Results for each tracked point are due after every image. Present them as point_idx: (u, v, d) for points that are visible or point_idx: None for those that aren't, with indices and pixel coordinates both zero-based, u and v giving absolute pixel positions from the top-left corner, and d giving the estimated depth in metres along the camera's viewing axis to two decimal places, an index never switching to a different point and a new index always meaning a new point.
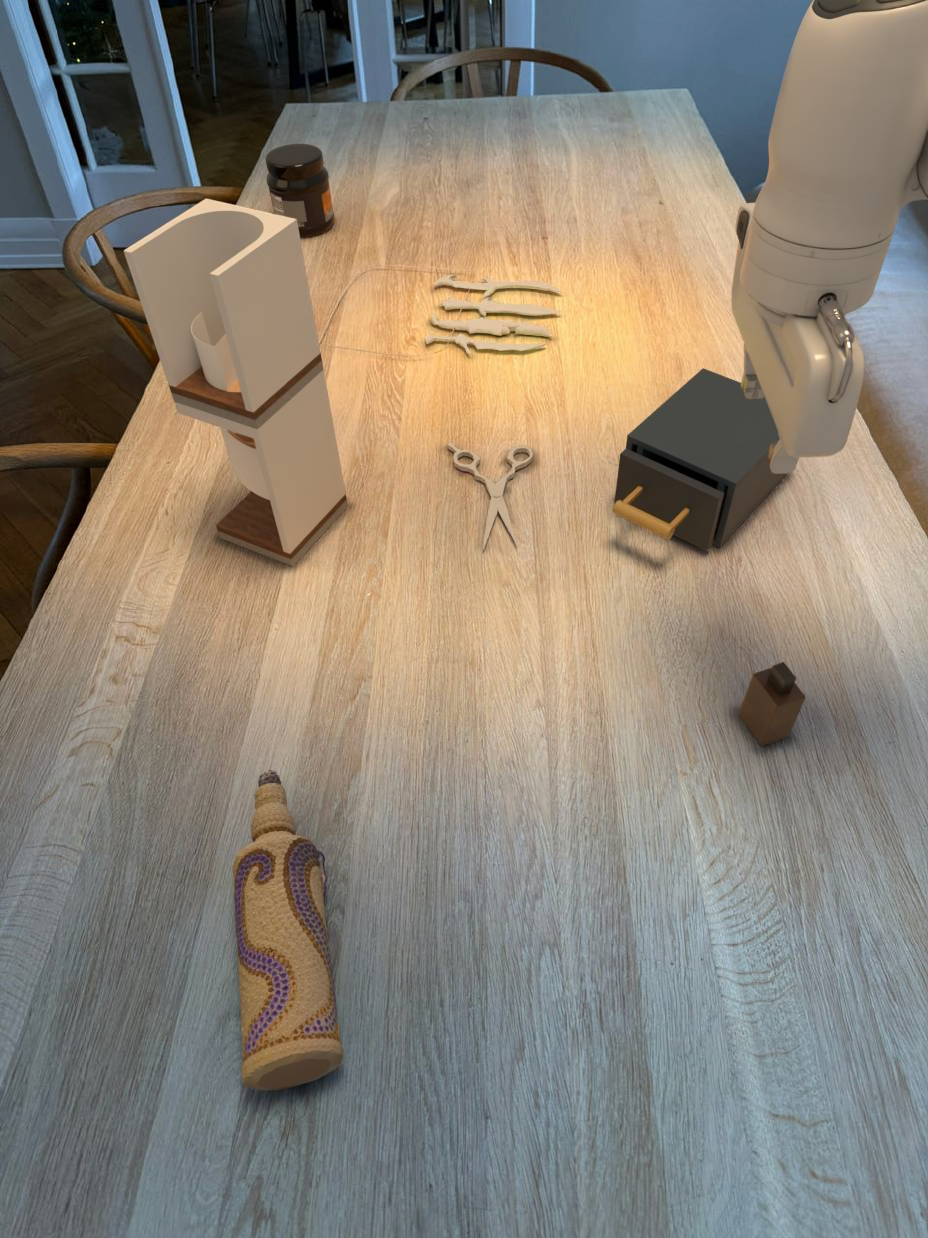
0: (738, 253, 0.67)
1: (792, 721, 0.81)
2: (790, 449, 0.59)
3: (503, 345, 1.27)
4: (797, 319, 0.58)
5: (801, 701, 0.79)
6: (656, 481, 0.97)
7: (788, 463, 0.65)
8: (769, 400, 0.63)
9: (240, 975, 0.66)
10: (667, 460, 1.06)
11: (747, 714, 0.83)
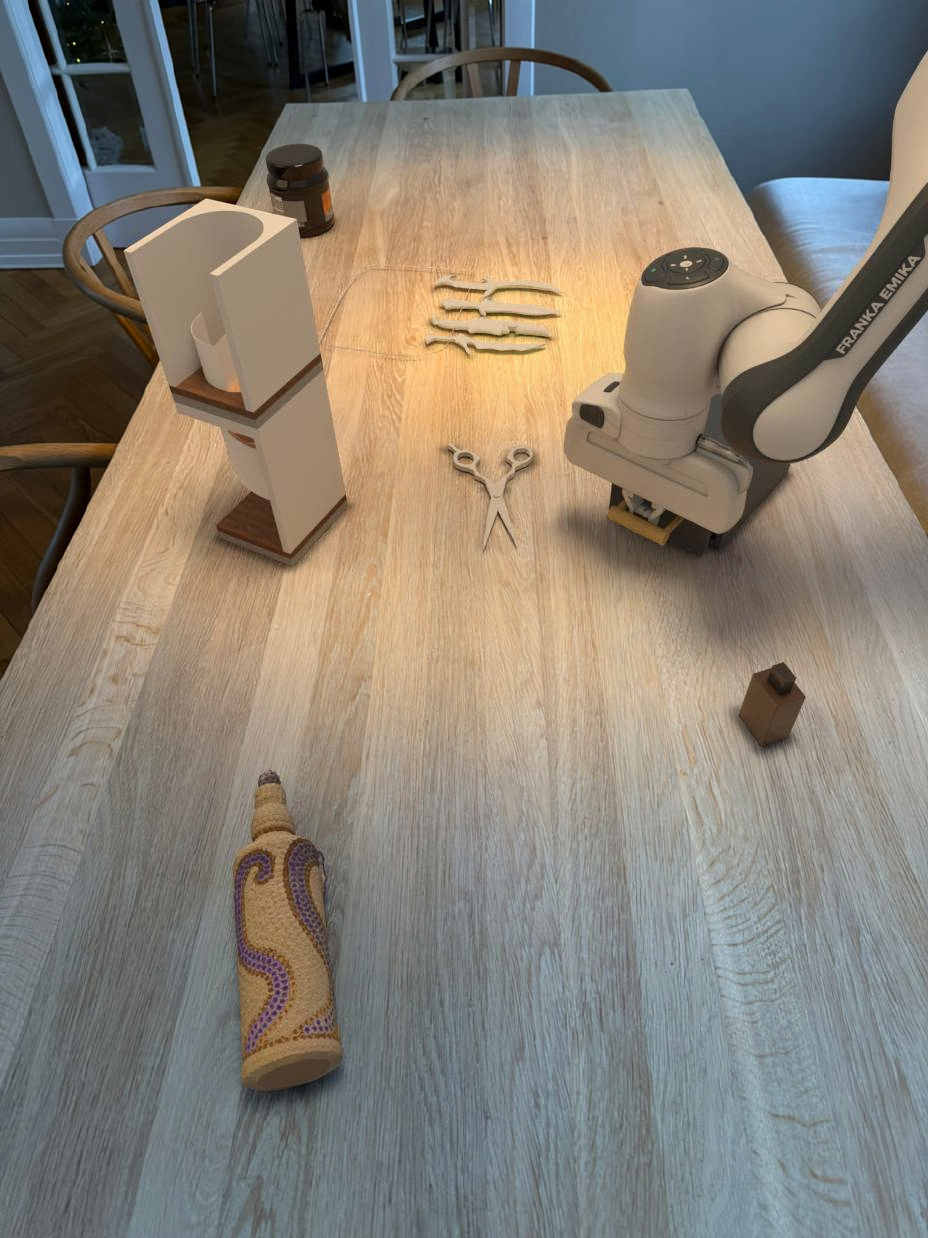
0: (574, 427, 0.92)
1: (792, 721, 0.81)
2: (722, 530, 0.88)
3: (503, 345, 1.27)
4: (687, 457, 0.85)
5: (801, 701, 0.79)
6: None
7: (657, 519, 0.96)
8: (672, 507, 0.90)
9: (240, 975, 0.66)
10: None
11: (747, 714, 0.83)
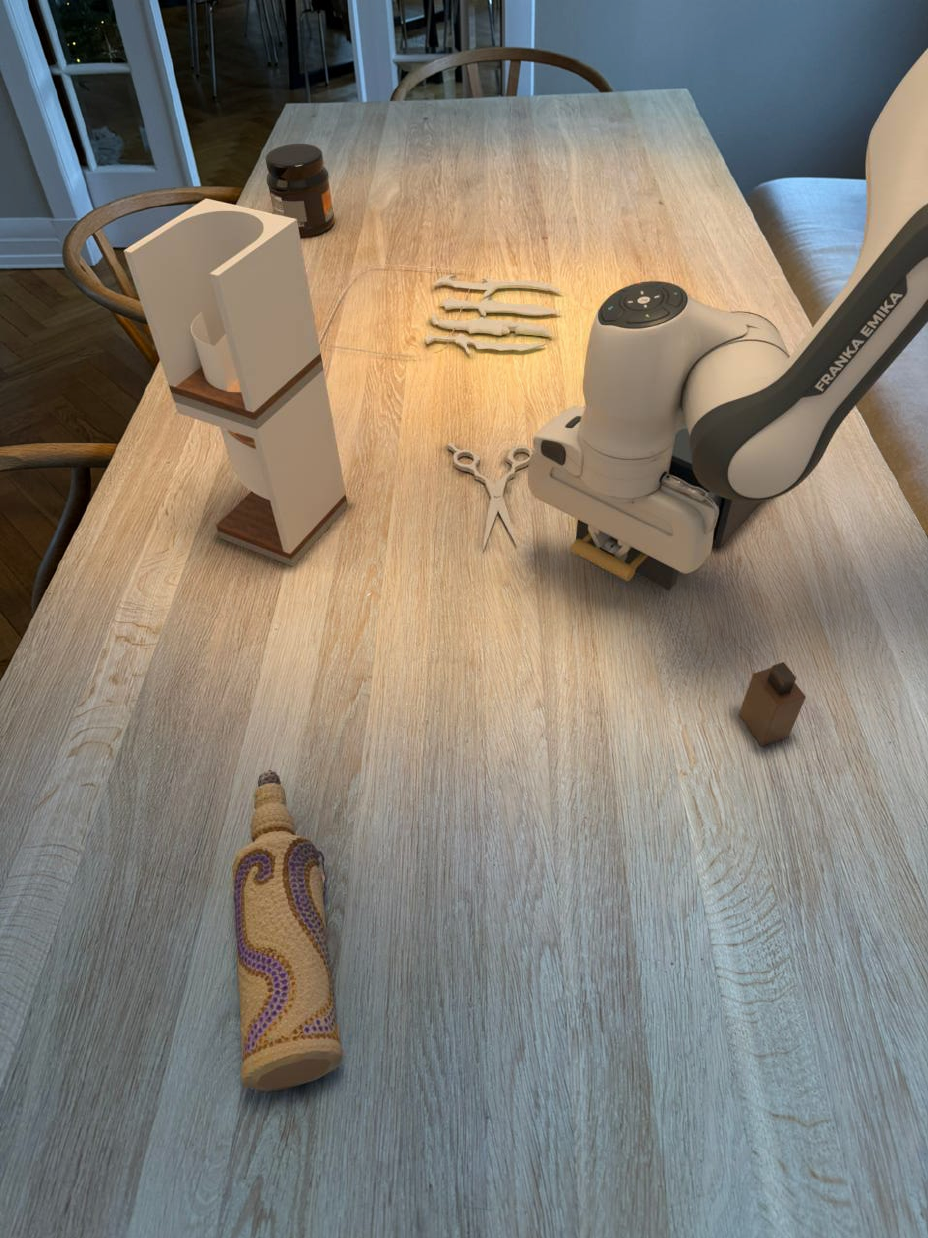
0: (536, 463, 0.89)
1: (792, 721, 0.81)
2: (689, 570, 0.85)
3: (503, 345, 1.27)
4: (651, 496, 0.82)
5: (801, 701, 0.79)
6: None
7: (624, 556, 0.93)
8: (638, 546, 0.87)
9: (240, 975, 0.66)
10: None
11: (747, 714, 0.83)
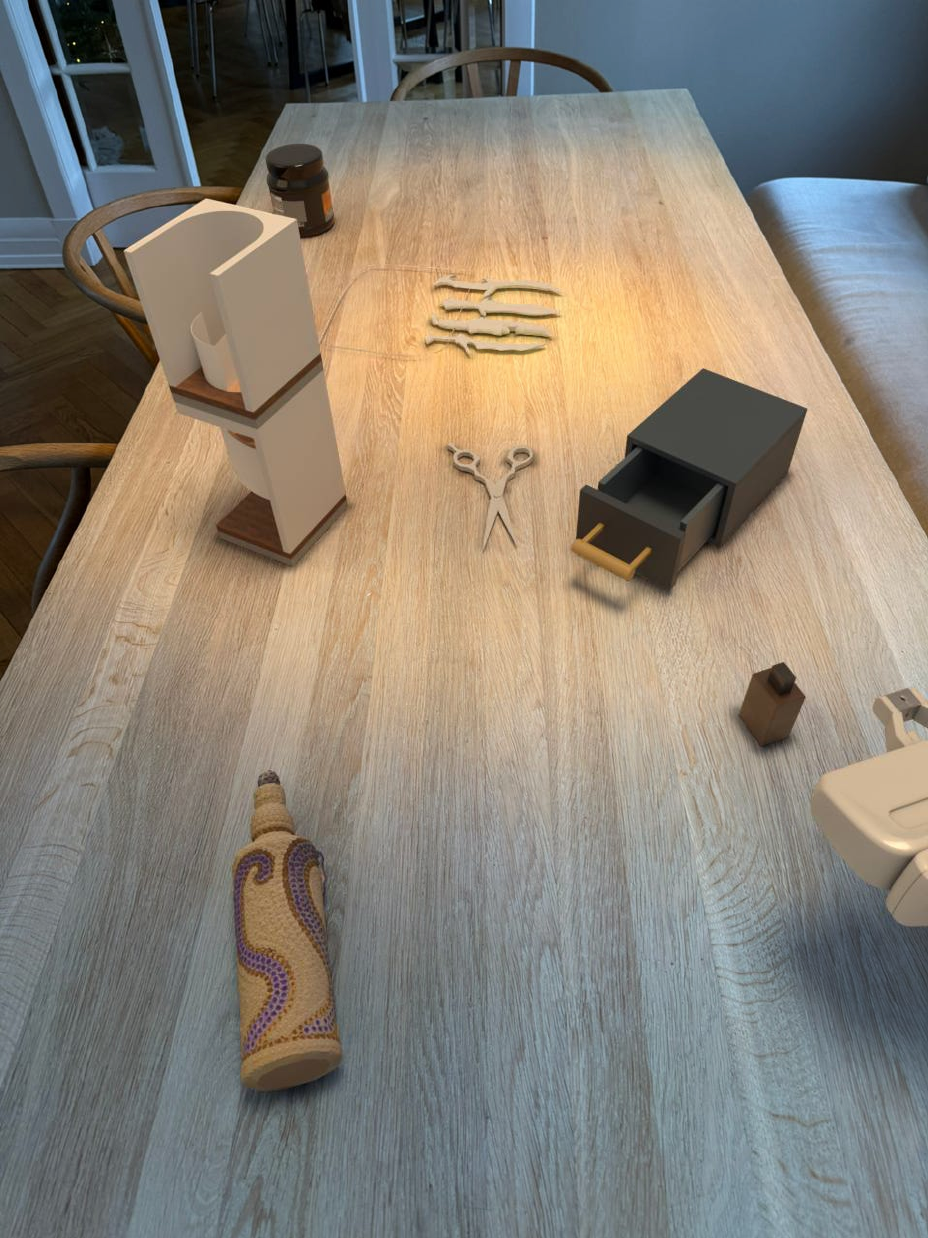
0: None
1: (792, 721, 0.81)
2: None
3: (503, 345, 1.27)
4: None
5: (801, 701, 0.79)
6: (617, 519, 0.93)
7: None
8: None
9: (239, 975, 0.66)
10: (632, 494, 1.03)
11: (747, 714, 0.83)
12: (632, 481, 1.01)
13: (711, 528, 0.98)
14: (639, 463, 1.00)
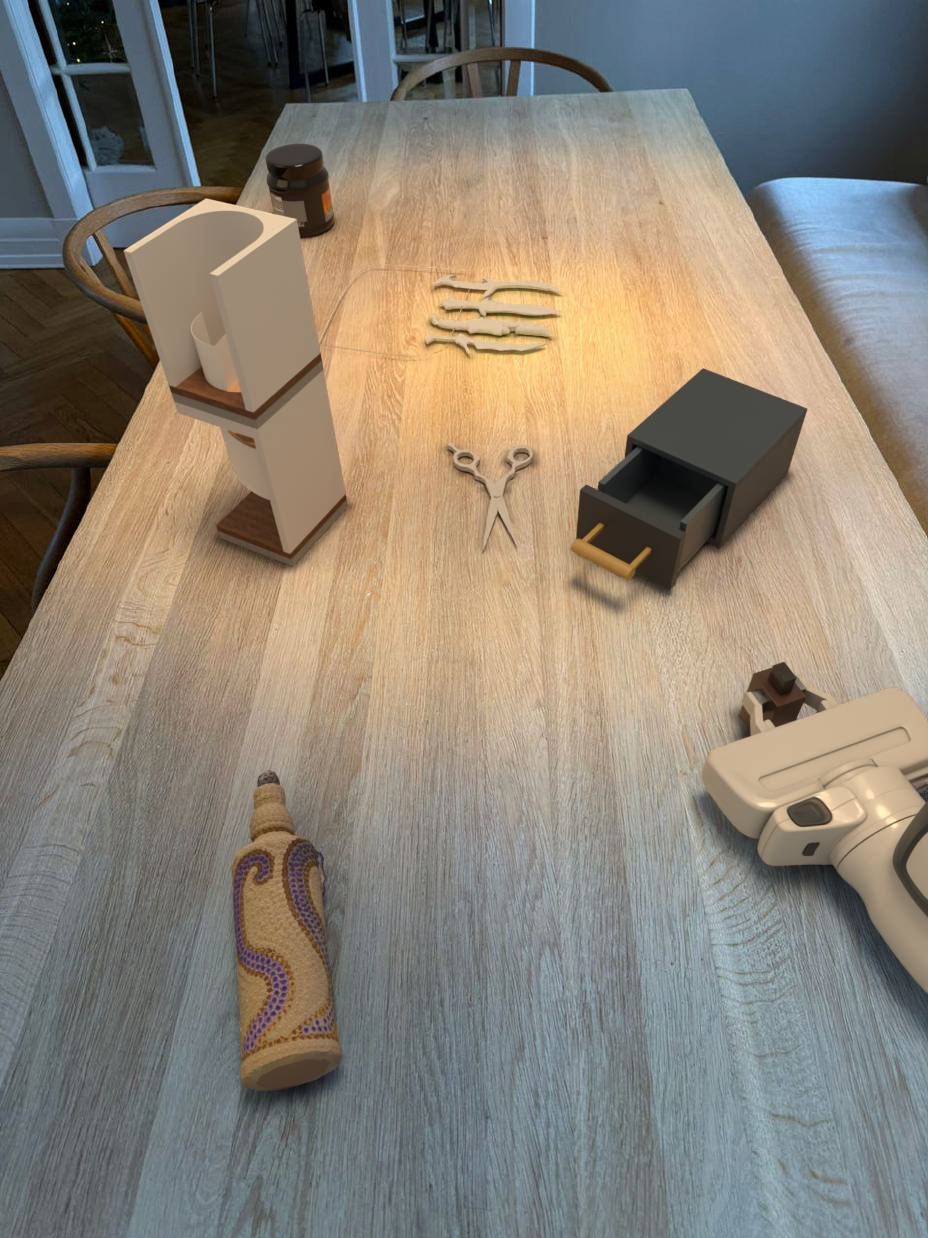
0: None
1: None
2: None
3: (503, 345, 1.27)
4: None
5: (802, 701, 0.79)
6: (617, 519, 0.93)
7: None
8: None
9: (239, 975, 0.66)
10: (632, 494, 1.03)
11: (747, 714, 0.83)
12: (632, 481, 1.01)
13: (711, 528, 0.98)
14: (639, 463, 1.00)
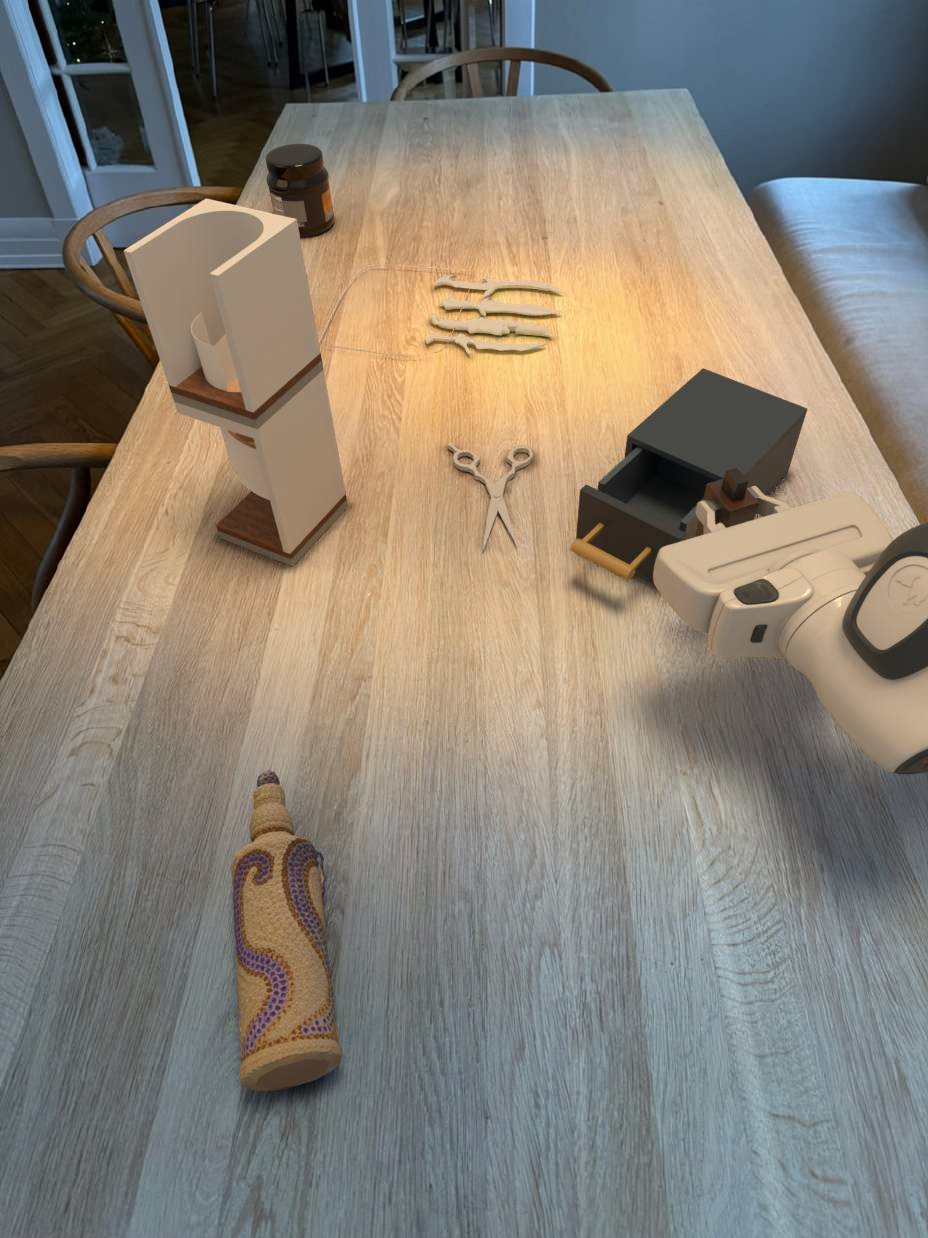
0: None
1: None
2: None
3: (503, 345, 1.27)
4: None
5: (755, 508, 0.78)
6: (617, 519, 0.93)
7: None
8: None
9: (238, 975, 0.66)
10: (632, 494, 1.03)
11: (703, 532, 0.83)
12: (632, 481, 1.01)
13: None
14: (639, 463, 1.00)
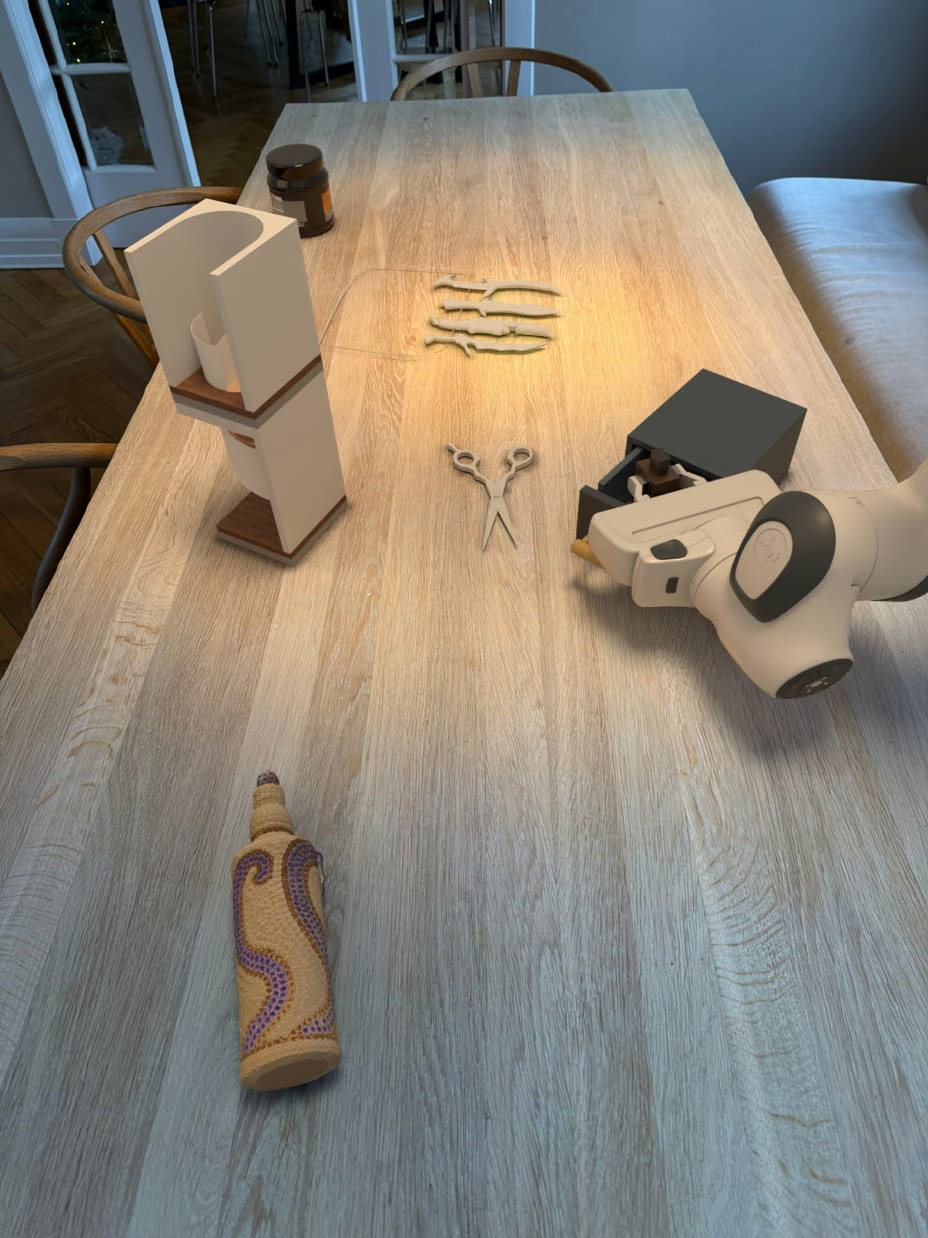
0: None
1: None
2: None
3: (503, 345, 1.27)
4: None
5: (677, 482, 0.92)
6: None
7: None
8: None
9: (238, 975, 0.66)
10: (631, 494, 1.03)
11: None
12: None
13: None
14: None
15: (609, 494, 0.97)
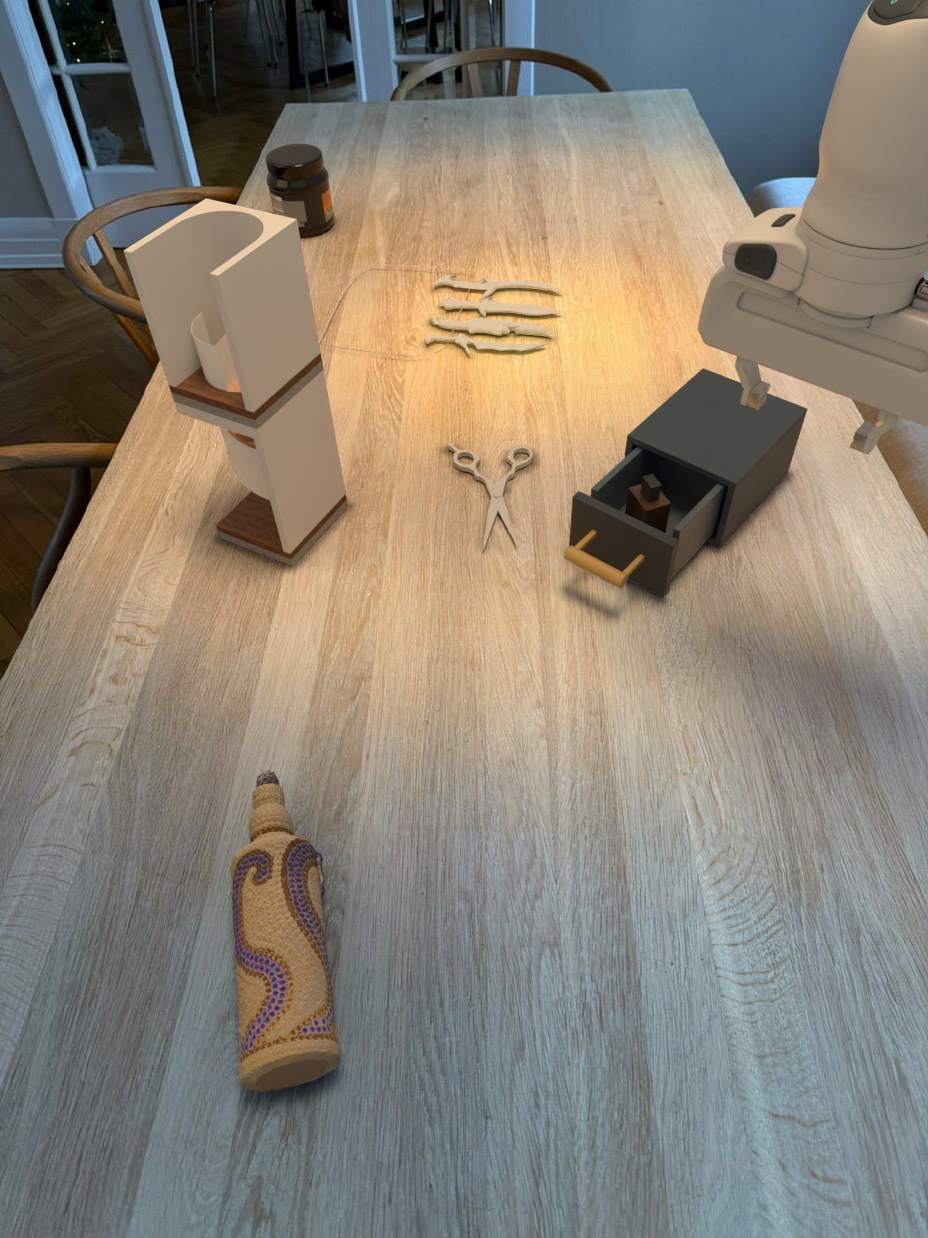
0: (720, 287, 0.66)
1: (663, 529, 0.95)
2: None
3: (503, 345, 1.27)
4: (900, 313, 0.59)
5: (668, 507, 0.93)
6: (610, 526, 0.93)
7: (876, 439, 0.68)
8: (864, 395, 0.64)
9: (238, 976, 0.66)
10: (625, 500, 1.02)
11: None
12: (625, 487, 1.00)
13: (705, 535, 0.98)
14: (632, 469, 0.99)
15: (602, 500, 0.97)
